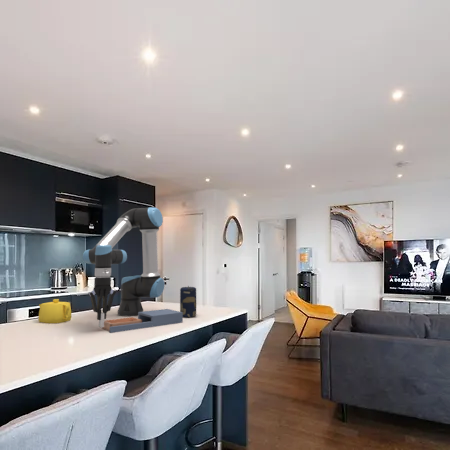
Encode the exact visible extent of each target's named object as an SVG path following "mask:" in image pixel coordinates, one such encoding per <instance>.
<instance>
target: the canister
mask: <svg viewBox="0 0 450 450" xmlns="http://www.w3.org/2000/svg"><path fill="white" fill-rule="evenodd" d="M179 294H180V295H179V312H183V318H191V317H195V316H197V288H196V286H195V287H194V286H189V285H187V286H183V287H180V289H179Z"/></svg>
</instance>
